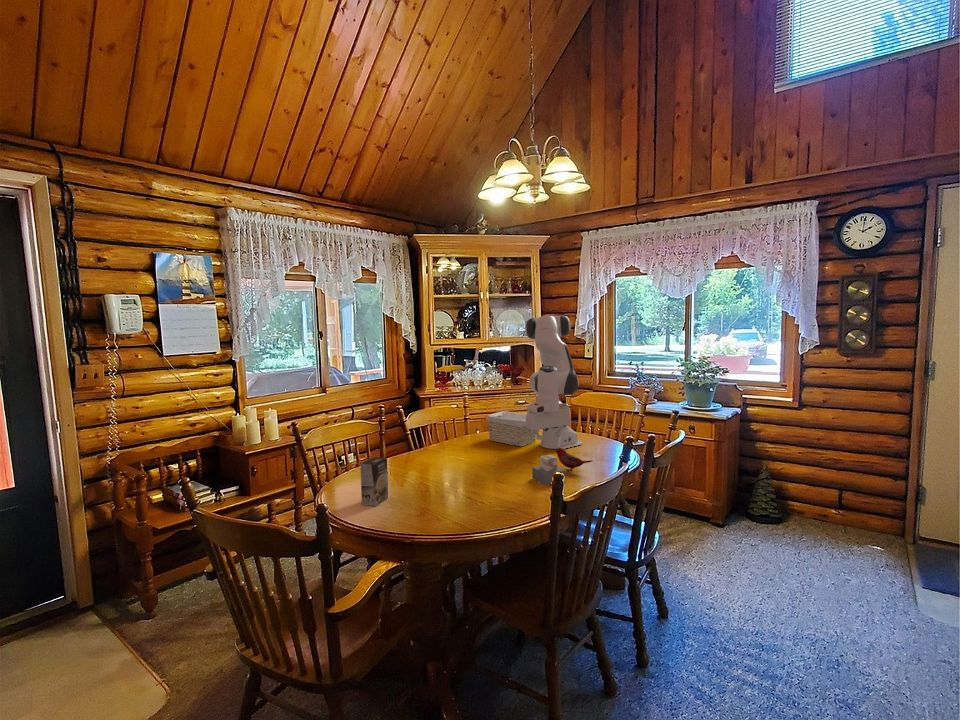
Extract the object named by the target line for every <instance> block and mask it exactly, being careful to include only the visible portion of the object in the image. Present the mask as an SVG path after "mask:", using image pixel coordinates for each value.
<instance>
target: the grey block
mask: <svg viewBox="0 0 960 720" xmlns="http://www.w3.org/2000/svg"><path fill="white" fill-rule="evenodd" d="M564 469H565V468H562V467H560V466H558V465H557V469H556V470H551V471H546V470H544V469H542V468H540V465H538V466H537V465H536V466H534V467H533V466H532V467H531V470H532V471H531V472H532V473H531V474H532V475H531V476H532V478H533V479H532V480H534V479H535V480H534V481H536V482H537V481H538V483H539V482H540V483H539V484H542V485H543V486H545V485H547V486H550V485H551V482H552V477H553V475H554V473H556V472H560V473H563V474H564V476H565V477H566V470H564Z"/></svg>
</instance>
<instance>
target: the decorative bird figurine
mask: <svg viewBox="0 0 960 720" xmlns="http://www.w3.org/2000/svg"><path fill="white" fill-rule="evenodd" d="M554 453H555V454H556V455H557V457H558V458H557V459H558V460H559V462H560V463H561V464H562V466H564V467H566V468H567V469H565V468H563V469H564V470H565V471H567V470H570V471H569V472H575V468H578V467H579V468H580V467H581V466H582V465H583V464H587V463H591V462H593V460H582V459H581V458H579V457H576V456H575V455H572V454H570V453H568V452H567V451H566V449H562V448H558V449H556V450H555V451H554ZM568 468H569V469H568Z"/></svg>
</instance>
